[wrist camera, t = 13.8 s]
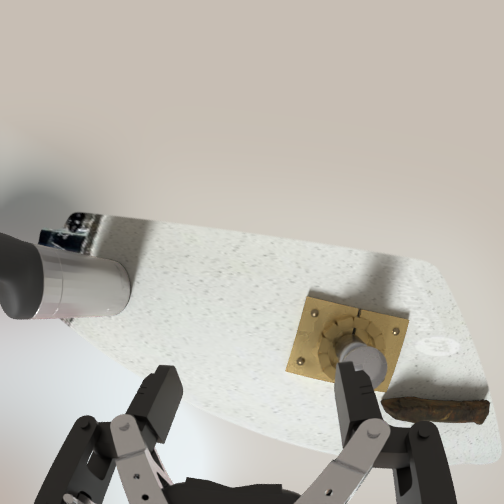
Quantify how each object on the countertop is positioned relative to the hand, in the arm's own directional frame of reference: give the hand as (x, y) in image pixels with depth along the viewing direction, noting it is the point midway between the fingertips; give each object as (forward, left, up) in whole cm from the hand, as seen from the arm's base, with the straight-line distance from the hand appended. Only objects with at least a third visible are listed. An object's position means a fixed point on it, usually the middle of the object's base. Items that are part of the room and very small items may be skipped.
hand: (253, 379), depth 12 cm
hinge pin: (+6, -6, -22) cm, 23 cm away
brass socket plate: (+6, -6, -23) cm, 24 cm away
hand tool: (+14, -22, -23) cm, 35 cm away
